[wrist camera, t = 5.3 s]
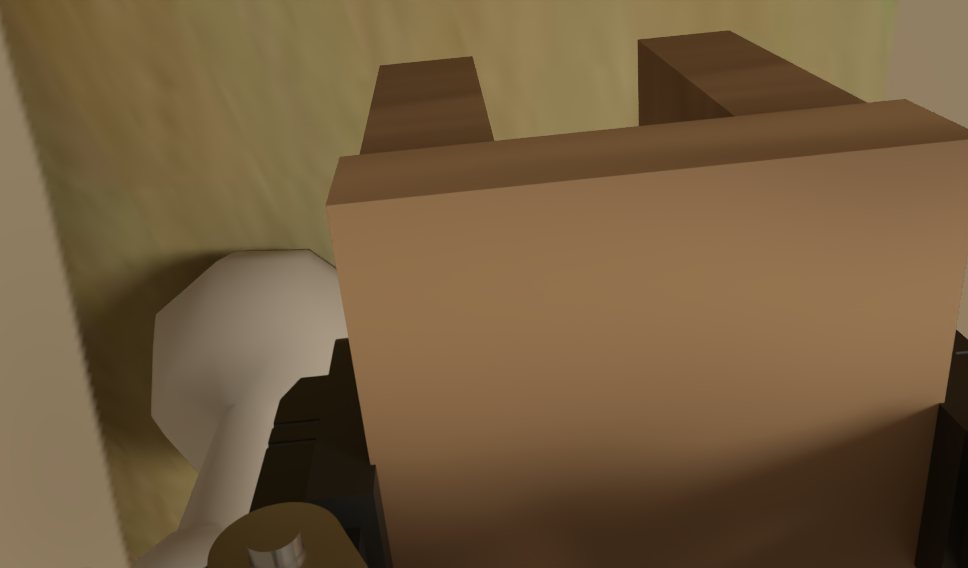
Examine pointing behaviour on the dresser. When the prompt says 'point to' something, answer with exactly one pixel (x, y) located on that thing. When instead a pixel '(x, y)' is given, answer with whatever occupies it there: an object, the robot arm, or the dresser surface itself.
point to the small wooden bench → (653, 318)
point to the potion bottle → (235, 378)
